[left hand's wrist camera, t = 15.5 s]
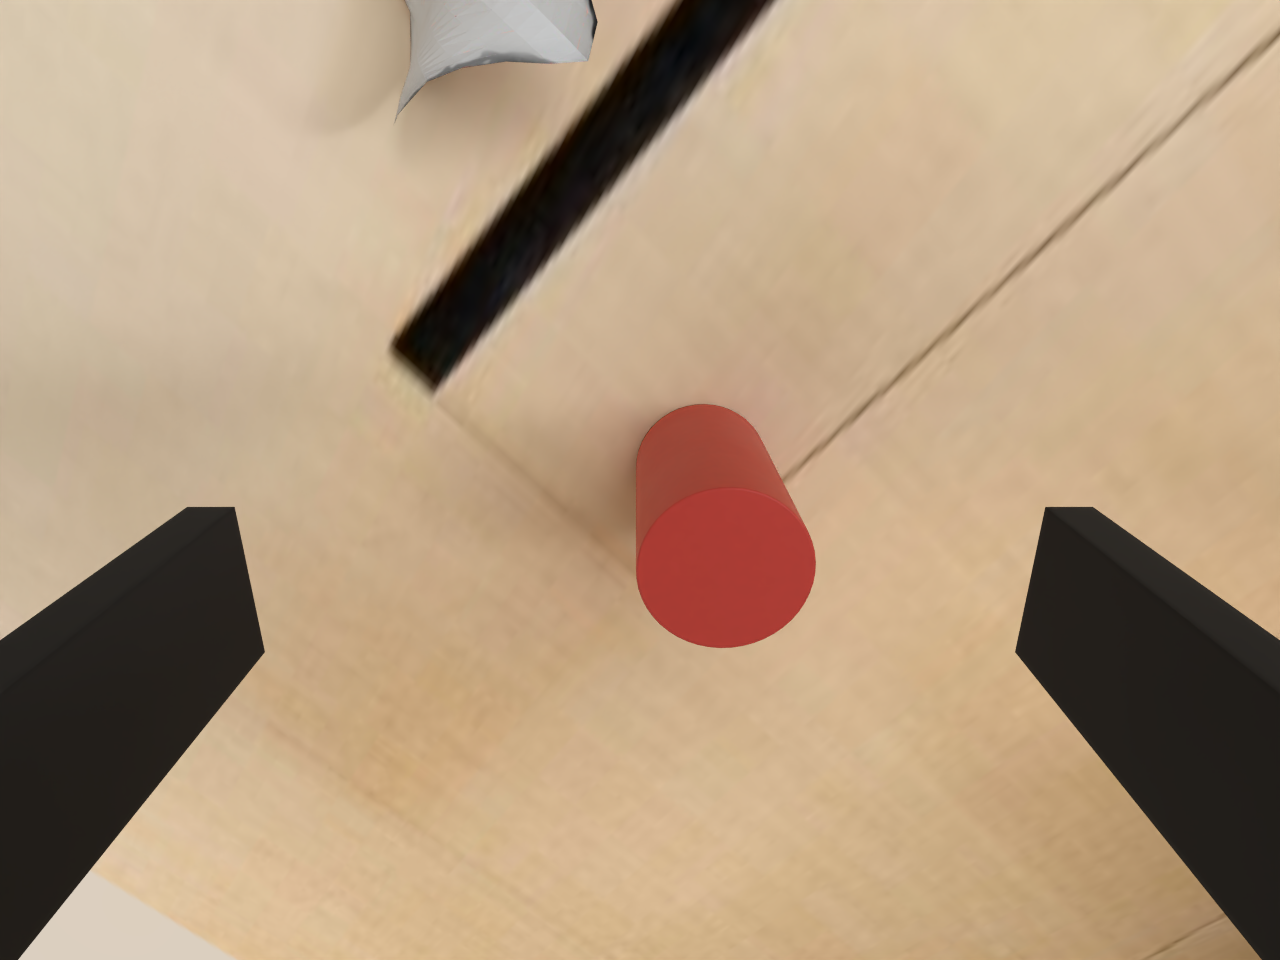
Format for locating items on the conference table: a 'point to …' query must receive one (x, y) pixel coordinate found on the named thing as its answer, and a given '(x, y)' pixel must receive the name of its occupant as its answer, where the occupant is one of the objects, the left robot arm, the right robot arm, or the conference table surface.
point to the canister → (717, 531)
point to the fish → (494, 35)
